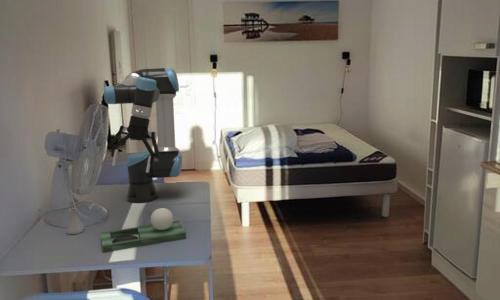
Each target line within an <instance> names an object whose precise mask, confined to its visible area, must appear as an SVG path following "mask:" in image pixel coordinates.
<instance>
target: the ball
mask: <svg viewBox="0 0 500 300" xmlns="http://www.w3.org/2000/svg"><path fill="white" fill-rule="evenodd" d="M173 221H174V215H173V213H172V211H170V209H168V208H165V207H160V208H157V209H155V210H154V211H153V212H152V214H151V215H150V223H151V224H150V225H152V226H153V227H154V228H155V229H157V230H166V229H168V228H169V227H170V226H171V225H172V223H173Z"/></svg>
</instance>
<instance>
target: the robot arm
mask: <svg viewBox="0 0 500 300" xmlns="http://www.w3.org/2000/svg"><path fill="white" fill-rule="evenodd" d="M179 84H180V83H179V79H178V75H177V72H176V69H174V68H172V67H163V68H162V67H160V68H143V69H139V70H135V71H133V72H131V73H128V74H127V75H126V76H125V77H124V79H123V80H122V81H121V82H120V83H118V84H117V85H108V86H104V88H103V89H104V90H103V99H104V102H105V103H106V104H107V105H123V104H126V105H127V104H132V107H131V115H130V118H129V122H128V126H125V125H120V126H119V130H118V131H117V133H116V134H115V135H114V136H113V138H112V139H111V140H110V142H108V145H107V146H108V147H110V148H112V149H111V157H112V163H111V166H113V167H115V166H116V164H117V159H118V156H119V155H118V153H119V149H118V148H119V147H120V146H122V145H123V143H125V142H126V141H127V140H129V139H132V140H137V141H142V143H143V144H144V146H145V148H146V150H144V151H140V152H134V153H131V154H130V155H129V156H127V160H126V162H127V165H126V167H127V172H128V174H127V175H128V185H129V186H128V189H127V191H126V192H127V194H126V200H127V202H130V203H134V204H138V203H140V204H141V203H142V204H143V203H147V202H152V201H154V200H156V199H157V198H158V197H159V196H158V191H157V188H156V186H155V184H154V181H153V179H157V178H158V179H163V178H176V177H179V176H180V175H181V172H182V165H183V164H182V163H183V156H182V155H183V154H182V153H179V149H178V148H177V147H176V134H175V110H174V98H175V97H176V96H177V92H180V85H179ZM154 103H155V111H156V115H155V116H156V131H157V132H155V131H149V125H150V118H151V114H152V110H153V104H154ZM126 131H127V135H125V136H124V137H123V138H122V139H121V140H119V141H118V142H117V140H118V139H119V138H120V136H121V135H122V134H123V133H124V132H126ZM156 134H157V135H156ZM147 136H149V137H150V139H151V143H152V147H153V149H152V147H151V145H150V143H149V141H148V139H147ZM156 136H157V137H156ZM156 138H157V139H156Z"/></svg>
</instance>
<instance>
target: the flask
mask: <svg viewBox="0 0 500 300" xmlns="http://www.w3.org/2000/svg"><path fill="white" fill-rule="evenodd" d="M77 210H78V208H73V207H72V208H69V209H68V212H69V219H68V220H69V221H68V224H67V228H66V232H65V234H67V235H79V234H81V233H84V231H85V227H84V225H83V223H82V222H81V220H80V218H79V216H78V213H77Z"/></svg>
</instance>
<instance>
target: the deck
mask: <svg viewBox="0 0 500 300" xmlns="http://www.w3.org/2000/svg"><path fill="white" fill-rule="evenodd" d="M137 235H138V236H137ZM100 238H101V245H102V253H108V252H114V251H119V250H120V251H121V250H125V249H132V248H137V247H143V246H144V247H145V246H149V245H150V246H151V245H155V244H161V243H166V242H167V243H168V242H173V241H178V240H184V239H187V233H186V231H185V229H184V227H183V226H182V223H181V222H180V220H173V223H172V225H171V226H170V227H169V228H168V229H166V230H157V229H155V228H154V227H153V226H152V224H149V225H141V226H136V227H135V226H134V227H128V228H124V229H123V228H122V229H115V230H109V231H103V232H100Z"/></svg>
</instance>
